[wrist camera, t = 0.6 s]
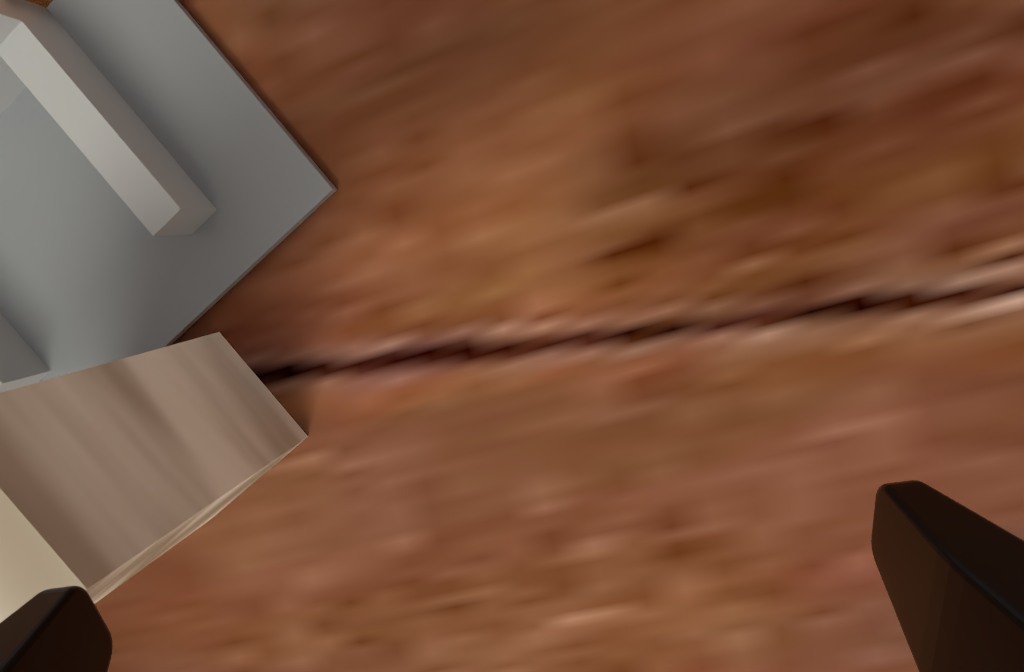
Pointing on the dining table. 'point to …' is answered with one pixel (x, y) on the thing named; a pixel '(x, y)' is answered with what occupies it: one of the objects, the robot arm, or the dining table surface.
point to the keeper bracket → (129, 182)
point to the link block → (127, 463)
